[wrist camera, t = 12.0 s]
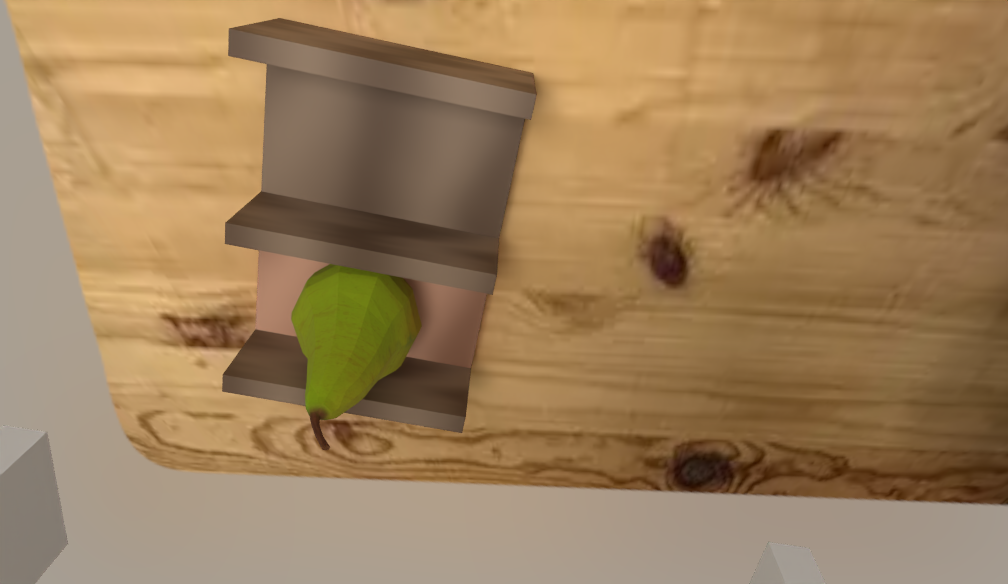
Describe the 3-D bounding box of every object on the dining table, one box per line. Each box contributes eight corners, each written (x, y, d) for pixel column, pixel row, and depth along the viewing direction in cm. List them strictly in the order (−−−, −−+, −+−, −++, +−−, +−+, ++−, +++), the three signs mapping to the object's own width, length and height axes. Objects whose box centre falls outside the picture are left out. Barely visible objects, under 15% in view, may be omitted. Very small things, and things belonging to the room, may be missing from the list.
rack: (532, 73, 31) (536, 94, 26) (469, 368, 39) (461, 433, 33) (279, 18, 30) (228, 28, 25) (264, 331, 38) (222, 391, 32)
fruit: (313, 228, 33) (216, 351, 23) (434, 246, 34) (396, 376, 23) (310, 336, 36) (223, 492, 25) (422, 351, 36) (383, 512, 26)
